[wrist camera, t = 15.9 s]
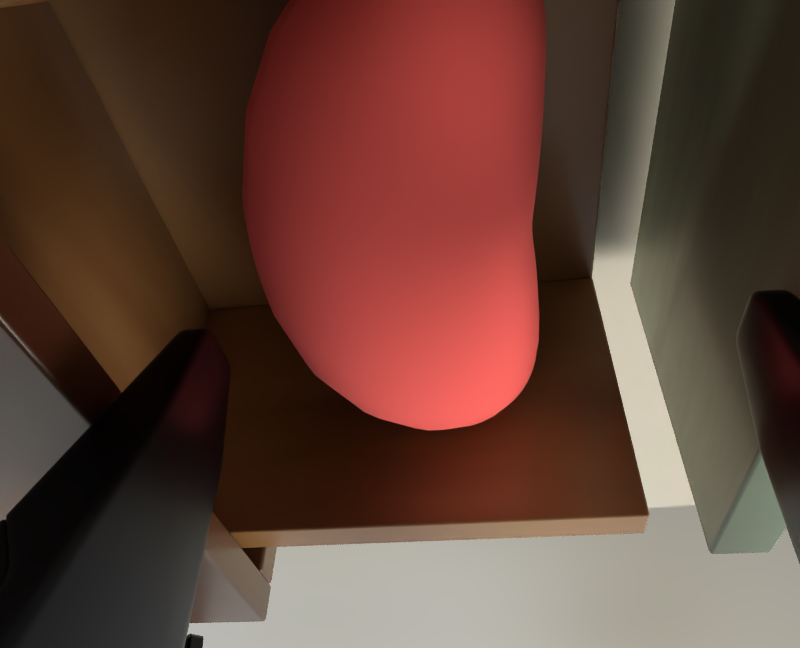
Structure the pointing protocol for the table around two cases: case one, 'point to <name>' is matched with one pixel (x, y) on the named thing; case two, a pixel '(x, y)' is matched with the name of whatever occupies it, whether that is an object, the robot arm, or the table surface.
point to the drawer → (553, 244)
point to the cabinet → (72, 415)
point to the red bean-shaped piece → (402, 199)
